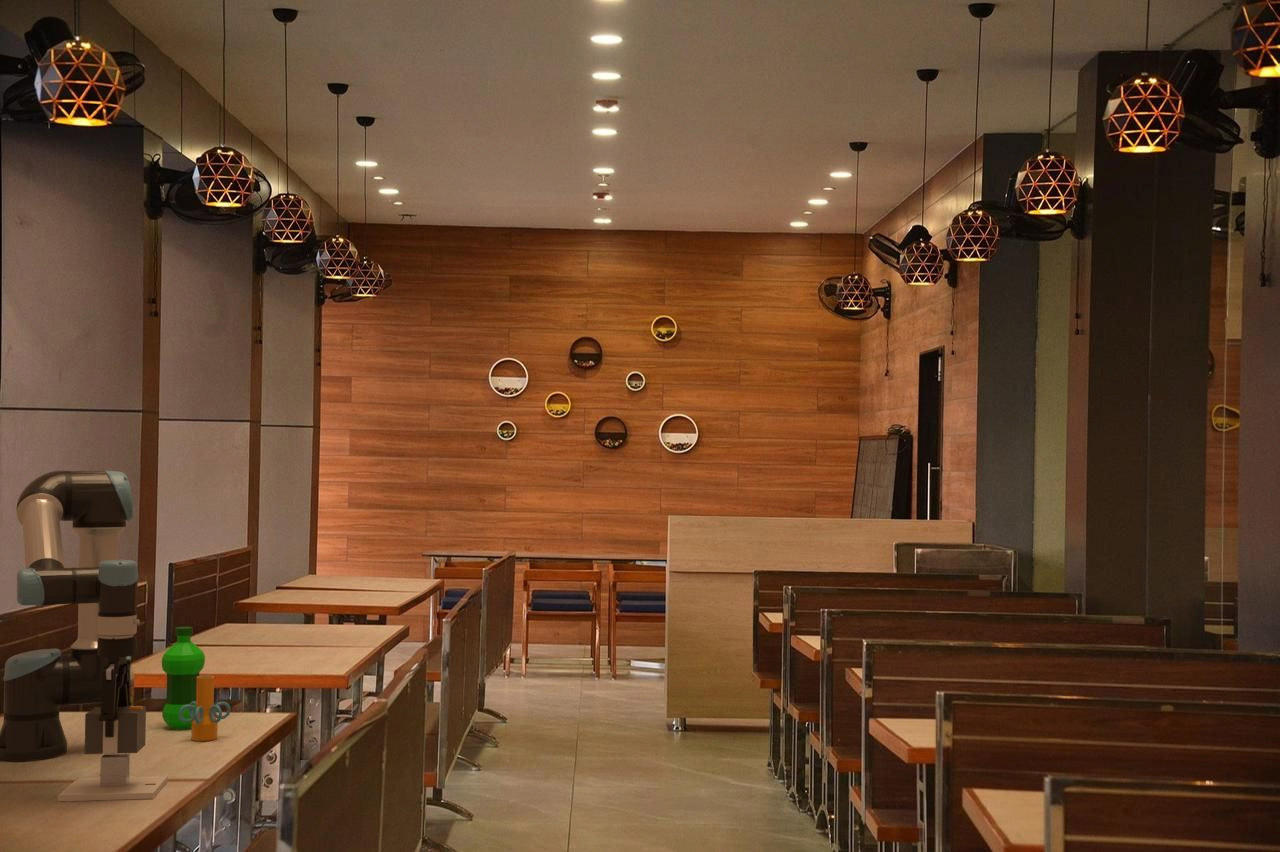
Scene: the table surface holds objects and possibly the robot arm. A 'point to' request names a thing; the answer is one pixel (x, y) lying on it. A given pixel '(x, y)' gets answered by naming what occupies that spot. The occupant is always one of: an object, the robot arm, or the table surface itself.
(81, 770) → the table surface
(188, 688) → the plastic bottle
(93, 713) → the dark grey block
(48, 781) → the table surface
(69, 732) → the table surface
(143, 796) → the board
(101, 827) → the table surface
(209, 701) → the orange tube with rings
